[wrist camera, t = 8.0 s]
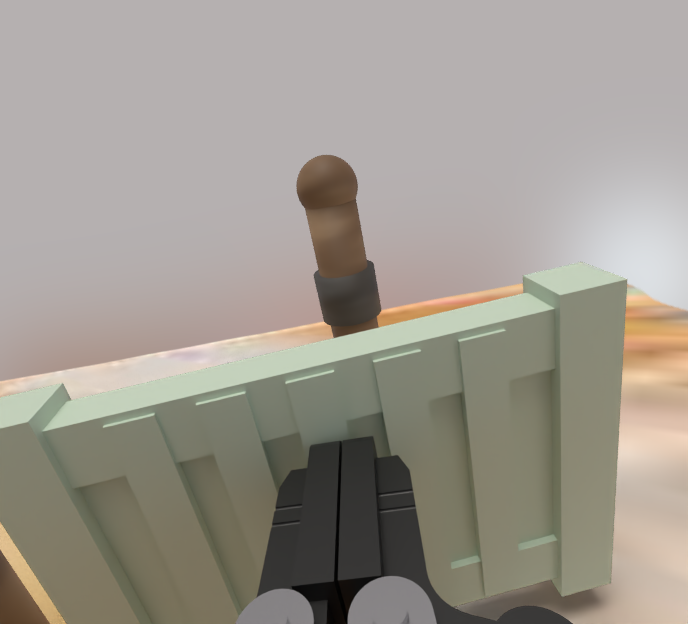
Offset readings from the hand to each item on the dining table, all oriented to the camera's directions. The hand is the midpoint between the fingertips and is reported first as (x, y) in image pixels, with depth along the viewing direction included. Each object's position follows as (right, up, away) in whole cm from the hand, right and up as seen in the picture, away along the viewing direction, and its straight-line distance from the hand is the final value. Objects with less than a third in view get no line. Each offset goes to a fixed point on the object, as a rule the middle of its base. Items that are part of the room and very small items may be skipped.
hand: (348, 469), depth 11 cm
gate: (+1, -6, +3) cm, 7 cm away
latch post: (+2, -3, +15) cm, 15 cm away
